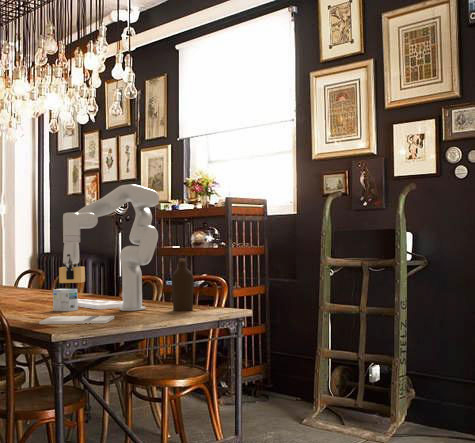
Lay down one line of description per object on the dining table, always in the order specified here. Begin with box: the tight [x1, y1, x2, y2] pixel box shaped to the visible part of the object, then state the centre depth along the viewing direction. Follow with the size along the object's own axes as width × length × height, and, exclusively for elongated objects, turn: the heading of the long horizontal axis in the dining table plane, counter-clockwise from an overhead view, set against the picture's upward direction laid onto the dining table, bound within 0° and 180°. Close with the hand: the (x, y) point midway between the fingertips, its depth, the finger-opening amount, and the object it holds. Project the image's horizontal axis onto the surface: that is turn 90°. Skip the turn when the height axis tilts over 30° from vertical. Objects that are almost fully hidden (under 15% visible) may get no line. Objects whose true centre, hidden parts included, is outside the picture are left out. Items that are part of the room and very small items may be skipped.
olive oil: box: [171, 258, 195, 312], centre depth 312 cm, size 11×11×25 cm
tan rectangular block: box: [58, 265, 86, 284], centre depth 293 cm, size 6×10×7 cm, turn 87°
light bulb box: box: [52, 288, 79, 312], centre depth 320 cm, size 11×7×11 cm, turn 65°
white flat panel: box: [39, 315, 115, 325], centre depth 277 cm, size 16×28×1 cm, turn 88°
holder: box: [78, 298, 123, 311], centre depth 344 cm, size 45×18×3 cm, turn 40°
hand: (72, 278), depth 293 cm, fingers closed on tan rectangular block, 6 cm apart
